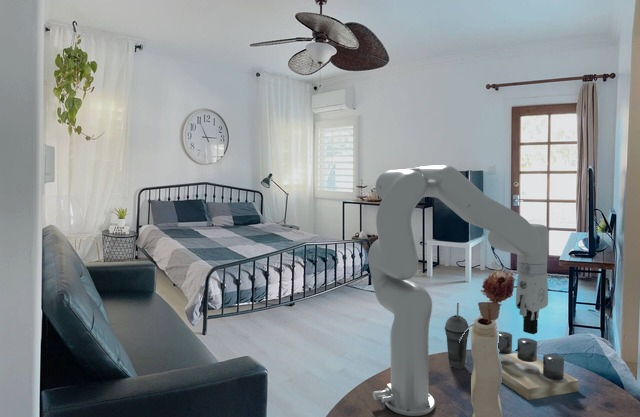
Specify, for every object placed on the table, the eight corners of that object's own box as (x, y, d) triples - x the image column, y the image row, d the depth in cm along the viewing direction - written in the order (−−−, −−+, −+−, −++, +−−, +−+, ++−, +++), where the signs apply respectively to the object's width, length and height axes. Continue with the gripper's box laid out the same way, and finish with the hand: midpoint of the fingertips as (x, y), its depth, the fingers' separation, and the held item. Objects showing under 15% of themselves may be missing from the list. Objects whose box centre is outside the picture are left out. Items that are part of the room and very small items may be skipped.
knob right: (552, 381, 115) (553, 362, 115) (538, 372, 120) (539, 355, 120) (568, 378, 117) (568, 360, 116) (553, 370, 121) (554, 353, 121)
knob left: (501, 355, 126) (501, 338, 126) (490, 348, 131) (490, 332, 131) (515, 353, 127) (515, 336, 127) (504, 346, 132) (504, 330, 132)
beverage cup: (466, 360, 137) (466, 298, 135) (471, 371, 130) (472, 305, 128) (442, 360, 138) (442, 298, 136) (446, 370, 130) (447, 305, 129)
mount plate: (528, 400, 112) (528, 388, 112) (480, 367, 132) (480, 357, 131) (578, 391, 117) (578, 379, 116) (525, 360, 136) (525, 351, 136)
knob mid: (525, 363, 121) (526, 345, 120) (513, 356, 125) (513, 339, 125) (540, 360, 122) (541, 343, 122) (528, 353, 127) (528, 337, 126)
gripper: (532, 274, 113) (531, 343, 115) (557, 266, 123) (555, 330, 124) (505, 270, 119) (503, 335, 121) (530, 262, 129) (529, 323, 130)
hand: (530, 332), depth 122 cm, fingers closed
